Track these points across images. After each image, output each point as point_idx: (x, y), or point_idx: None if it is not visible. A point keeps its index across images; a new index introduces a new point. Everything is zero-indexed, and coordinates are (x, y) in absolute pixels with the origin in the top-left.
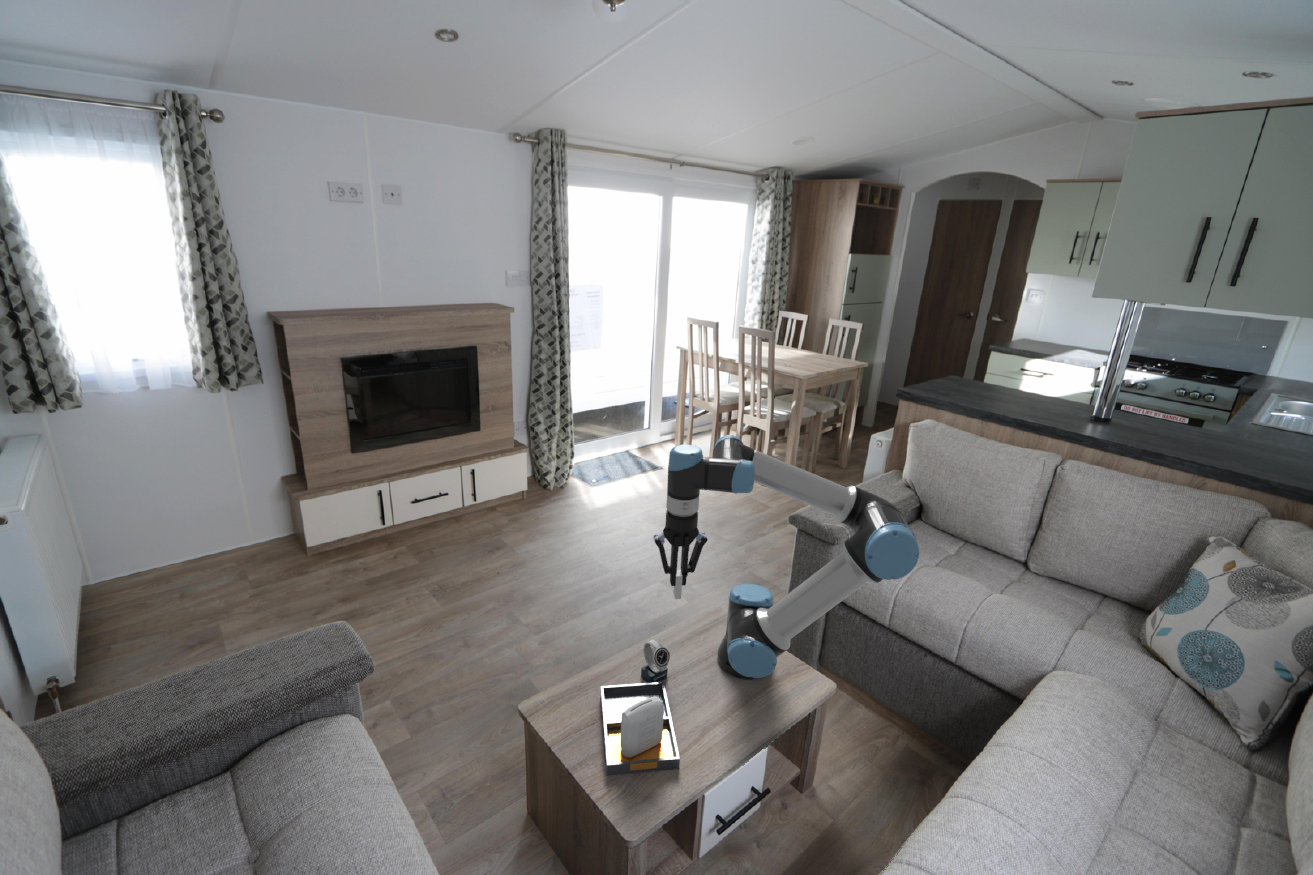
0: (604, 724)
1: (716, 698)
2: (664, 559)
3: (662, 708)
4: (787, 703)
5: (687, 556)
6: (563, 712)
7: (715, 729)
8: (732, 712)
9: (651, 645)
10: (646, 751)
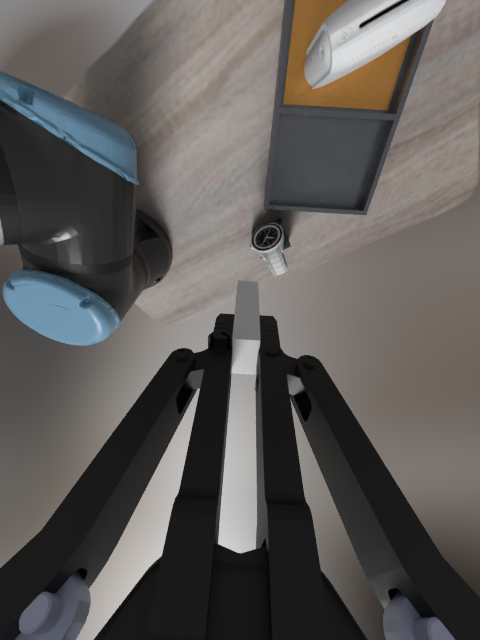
0: (400, 111)
1: (184, 173)
2: (349, 435)
3: (329, 17)
4: None
5: (195, 441)
6: (429, 182)
7: (196, 89)
8: (161, 132)
9: (282, 257)
10: None
